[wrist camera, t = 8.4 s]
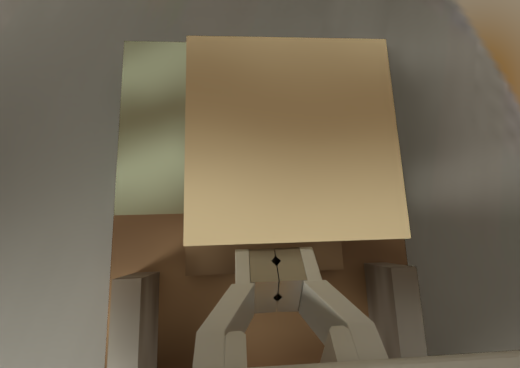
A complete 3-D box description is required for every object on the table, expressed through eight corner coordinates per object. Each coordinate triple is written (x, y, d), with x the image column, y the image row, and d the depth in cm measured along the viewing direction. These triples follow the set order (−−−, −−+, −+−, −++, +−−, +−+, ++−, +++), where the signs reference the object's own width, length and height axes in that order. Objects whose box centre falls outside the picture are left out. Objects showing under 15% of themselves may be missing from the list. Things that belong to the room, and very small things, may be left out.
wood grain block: (338, 267, 16) (486, 306, 6) (188, 274, 15) (104, 325, 6) (327, 127, 18) (433, -10, 8) (189, 128, 17) (125, -20, 7)
